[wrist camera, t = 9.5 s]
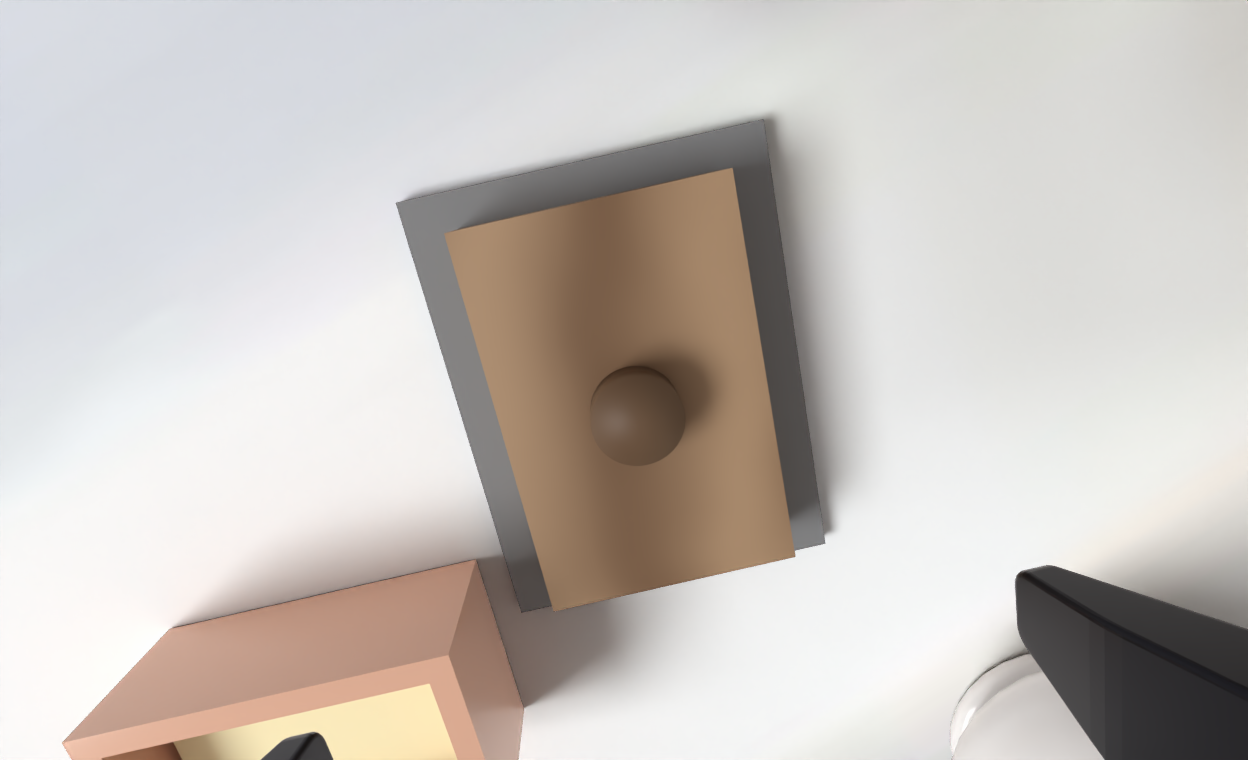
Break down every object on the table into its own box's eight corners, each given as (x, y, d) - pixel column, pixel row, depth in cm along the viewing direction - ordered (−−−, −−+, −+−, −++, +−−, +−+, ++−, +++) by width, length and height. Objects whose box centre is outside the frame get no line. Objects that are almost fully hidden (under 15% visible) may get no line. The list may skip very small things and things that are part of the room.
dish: (523, 709, 23) (510, 831, 18) (240, 773, 23) (159, 911, 18) (475, 559, 21) (448, 655, 17) (169, 628, 21) (61, 743, 17)
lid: (717, 170, 18) (742, 166, 15) (777, 526, 21) (806, 576, 18) (457, 229, 18) (435, 236, 15) (556, 577, 21) (551, 633, 18)
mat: (821, 537, 21) (825, 543, 21) (522, 605, 21) (521, 612, 21) (759, 120, 18) (763, 119, 17) (399, 202, 18) (395, 202, 17)
